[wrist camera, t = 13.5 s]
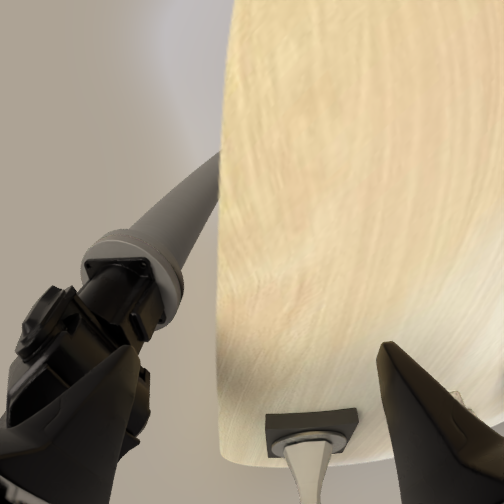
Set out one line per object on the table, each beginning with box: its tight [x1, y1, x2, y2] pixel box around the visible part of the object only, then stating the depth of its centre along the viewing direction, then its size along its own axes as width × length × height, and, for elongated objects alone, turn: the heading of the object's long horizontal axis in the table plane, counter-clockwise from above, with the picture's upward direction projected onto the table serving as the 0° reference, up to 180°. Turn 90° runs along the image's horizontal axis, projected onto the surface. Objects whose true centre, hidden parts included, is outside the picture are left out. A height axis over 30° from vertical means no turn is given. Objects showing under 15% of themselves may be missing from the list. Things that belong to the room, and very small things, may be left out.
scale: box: [265, 408, 359, 458], centre depth 33 cm, size 12×12×3 cm
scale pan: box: [272, 431, 346, 458], centre depth 32 cm, size 11×11×1 cm
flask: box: [283, 441, 334, 504], centre depth 27 cm, size 7×7×10 cm
